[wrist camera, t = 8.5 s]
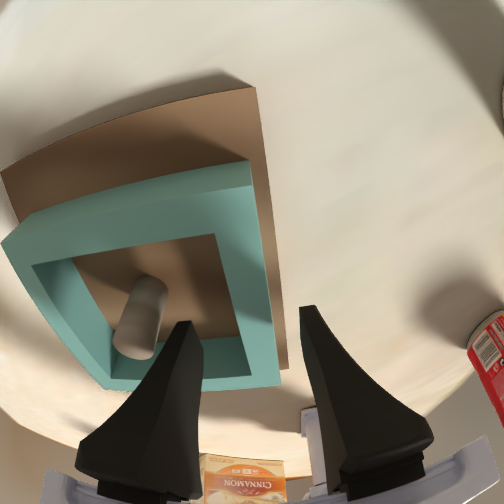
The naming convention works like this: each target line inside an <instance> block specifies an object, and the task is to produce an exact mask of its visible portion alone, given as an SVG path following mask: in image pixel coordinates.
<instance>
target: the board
mask: <svg viewBox="0 0 504 504" xmlns="http://www.w3.org/2000/svg"><path fill="white" fill-rule="evenodd" d="M247 160H249V161H250V168H251V174H252V181H253V187H254V194H255V200H256V207H257V214H258V220H259V227H260V234H261V241H262V247H263V254H264V261H265V268H266V275H267V282H268V289H269V296H270V303H271V310H272V317H273V324H274V331H275V339H276V346H277V354H278V363H279V370H283V369H289V363H288V352H287V341H286V330H285V320H284V310H283V300H282V290H281V281H280V271H279V262H278V253H277V244H276V236H275V227H274V219H273V211H272V203H271V195H270V187H269V179H268V171H267V164H266V156H265V149H264V142H263V135H262V128H261V121H260V114H259V107H258V100H257V94H256V87H249V88H242V89H235V90H229V91H223V92H217V93H212V94H207V95H202V96H197V97H192V98H188V99H183V100H179V101H175V102H171V103H167V104H163V105H159V106H156V107H152V108H149V109H145V110H142V111H138V112H135V113H132V114H129V115H126V116H123V117H120V118H117V119H114V120H111V121H108V122H105V123H102V124H100V125H97V126H94V127H92V128H89V129H87V130H84V131H82V132H79V133H77V134H74V135H72V136H69V137H67V138H65V139H63V140H60V141H58V142H56V143H54V144H52V145H49V146H47V147H45V148H43V149H41V150H39V151H37V152H35V153H33V154H31V155H29V156H27V157H25V158H23V159H21V160H20V161H18V162H16V163H14V164H12V165H11V166H9V167H7V168H6V169H4V170H2V171H1V172H0V173H1V176H2V179H3V182H4V185H5V188H6V191H7V193H8V196H9V199H10V201H11V204H12V206H13V209H14V211H15V213H16V216H17V218H18V220H19V223H21V222H22V221H23V220H25V219H26V218H27V217H28V216H29V215H30V214H31V213H34V212H37V211H40V210H43V209H46V208H49V207H52V206H55V205H58V204H61V203H64V202H67V201H70V200H73V199H77V198H80V197H83V196H87V195H90V194H93V193H97V192H101V191H104V190H108V189H111V188H115V187H119V186H123V185H127V184H131V183H135V182H139V181H143V180H147V179H152V178H156V177H160V176H165V175H169V174H174V173H179V172H184V171H189V170H194V169H199V168H205V167H210V166H216V165H222V164H228V163H234V162H240V161H247ZM71 259H72V261H73V263H74V265H75V267H76V269H77V271H78V272H79V274H80V276H81V278H82V280H83V282H84V284H85V285H86V287H87V289H88V291H89V292H90V294H91V296H92V298H93V299H94V301H95V303H96V304H97V306H98V308H99V309H100V311H101V313H102V314H103V316H104V318H105V319H106V321H107V322H108V324H109V325H110V327H111V329H112V330H113V332H114V333H115V334H114V337H113V345H114V347H115V348H116V349H117V350H118V351H119V352H120V353H122V354H123V355H125V356H127V357H129V358H133V359H137V360H145V359H149V358H151V357H152V356H153V354H154V350H155V346H156V343H158V342H166V341H167V339H168V337H169V335H170V334H171V332H172V330H173V328H174V326H175V324H176V323H177V322H178V321H188V320H191V321H192V324H193V326H194V328H195V331H196V333H197V335H198V338H199V340H204V339H215V338H226V337H236V336H241V334H240V330H239V326H238V323H237V319H236V315H235V312H234V308H233V304H232V300H231V296H230V292H229V289H228V285H227V281H226V277H225V273H224V269H223V265H222V261H221V257H220V253H219V249H218V245H217V241H216V237H215V233H211V234H205V235H198V236H192V237H186V238H179V239H173V240H167V241H161V242H155V243H149V244H143V245H137V246H131V247H125V248H120V249H114V250H108V251H103V252H97V253H92V254H86V255H81V256H75V257H71Z"/></svg>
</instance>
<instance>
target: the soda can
mask: <svg viewBox="0 0 504 504" xmlns="http://www.w3.org/2000/svg"><path fill="white" fill-rule="evenodd" d="M467 355H468V357H469V359H470V361H471V363H472V365H473V366H474V368H475V370H476V372H477V374H478V376H479V377H480V380H481V382H482V384H483V386H484V388H485V390H486V392H487V394H488V396H489V398H490V400H491V402H492V404H493V407H494V409H495V411H496V413H497V415H498V418H499V420H500V422H501V425H502V427H503V428H504V311H503V310H501V311H497V312H495V313H493V314H492V315H490V316H489V317H488V318H486V319H485V320H484V321H483V322H482V323H481V324H480V325H479V326H478V327H477V328H476V330H475V331H474V332H473V334H472V335H471V337H470V339H469V341H468V347H467Z"/></svg>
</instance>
